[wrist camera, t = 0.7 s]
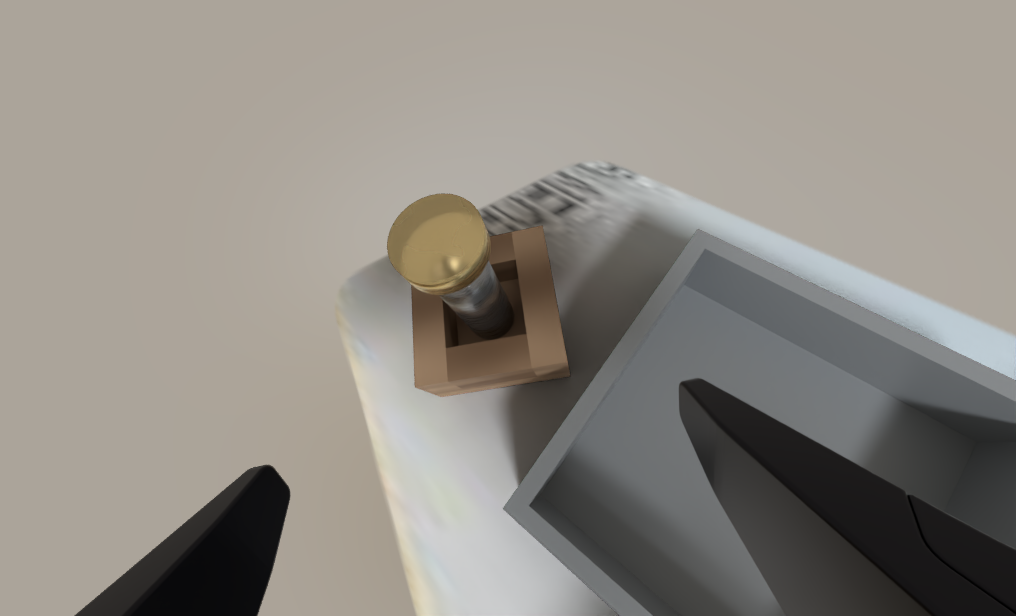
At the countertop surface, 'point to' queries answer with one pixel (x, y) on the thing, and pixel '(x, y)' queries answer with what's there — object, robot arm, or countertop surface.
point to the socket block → (511, 358)
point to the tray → (780, 394)
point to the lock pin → (451, 261)
